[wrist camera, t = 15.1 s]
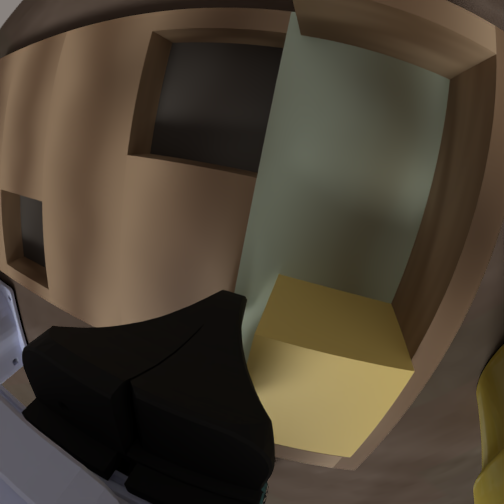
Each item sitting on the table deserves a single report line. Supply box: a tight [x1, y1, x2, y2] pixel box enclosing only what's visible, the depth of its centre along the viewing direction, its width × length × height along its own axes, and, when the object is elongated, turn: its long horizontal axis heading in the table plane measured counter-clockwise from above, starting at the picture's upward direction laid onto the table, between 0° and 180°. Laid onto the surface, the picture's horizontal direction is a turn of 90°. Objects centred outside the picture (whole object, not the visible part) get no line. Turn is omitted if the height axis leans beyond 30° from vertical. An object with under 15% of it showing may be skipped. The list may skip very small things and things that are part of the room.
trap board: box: [0, 0, 504, 470], centre depth 11 cm, size 30×16×6 cm, turn 79°
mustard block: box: [247, 274, 415, 457], centre depth 10 cm, size 4×4×4 cm
